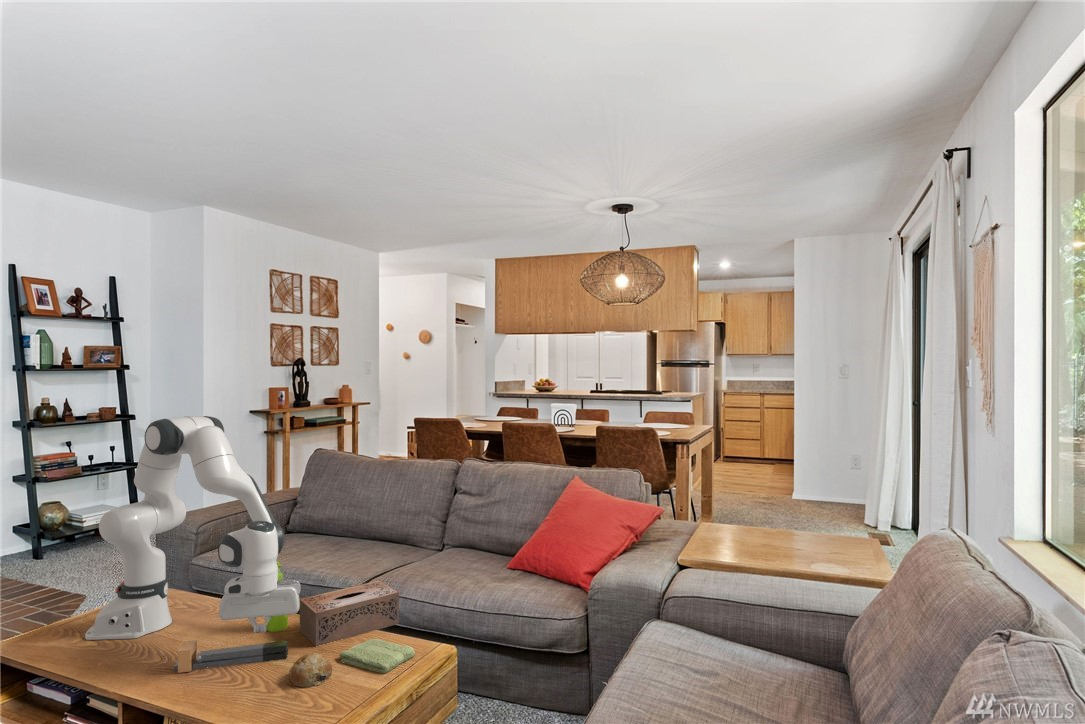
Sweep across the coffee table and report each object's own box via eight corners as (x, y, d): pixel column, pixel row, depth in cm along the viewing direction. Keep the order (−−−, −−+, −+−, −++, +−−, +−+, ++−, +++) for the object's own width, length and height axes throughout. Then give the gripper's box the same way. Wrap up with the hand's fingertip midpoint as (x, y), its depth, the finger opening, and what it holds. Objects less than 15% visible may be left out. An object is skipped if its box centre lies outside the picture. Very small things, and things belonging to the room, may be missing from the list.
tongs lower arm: (173, 672, 168) (173, 665, 168) (177, 666, 171) (177, 660, 171) (286, 659, 175) (286, 652, 175) (288, 653, 178) (287, 647, 178)
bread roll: (301, 704, 158) (310, 679, 156) (278, 677, 163) (286, 652, 161) (334, 687, 167) (342, 662, 165) (310, 662, 172) (318, 638, 170)
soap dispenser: (281, 621, 201) (281, 558, 201) (290, 627, 196) (290, 562, 196) (262, 627, 197) (262, 562, 197) (271, 633, 192) (271, 567, 192)
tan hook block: (178, 672, 167) (177, 651, 167) (184, 662, 173) (184, 641, 173) (190, 671, 168) (190, 649, 168) (197, 661, 174) (196, 640, 174)
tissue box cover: (316, 648, 182) (315, 613, 182) (299, 631, 194) (299, 598, 194) (399, 624, 198) (398, 592, 198) (379, 610, 210) (379, 580, 210)
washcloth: (371, 644, 185) (370, 633, 185) (417, 657, 176) (417, 645, 176) (335, 662, 173) (335, 651, 173) (384, 678, 165) (384, 665, 165)
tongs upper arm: (195, 662, 169) (194, 656, 169) (198, 656, 173) (198, 651, 173) (286, 651, 175) (286, 645, 175) (288, 645, 178) (287, 640, 178)
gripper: (302, 575, 181) (301, 623, 181) (223, 580, 176) (223, 630, 176) (299, 582, 175) (298, 633, 175) (217, 588, 170) (217, 640, 170)
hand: (260, 631), depth 175 cm, fingers closed
